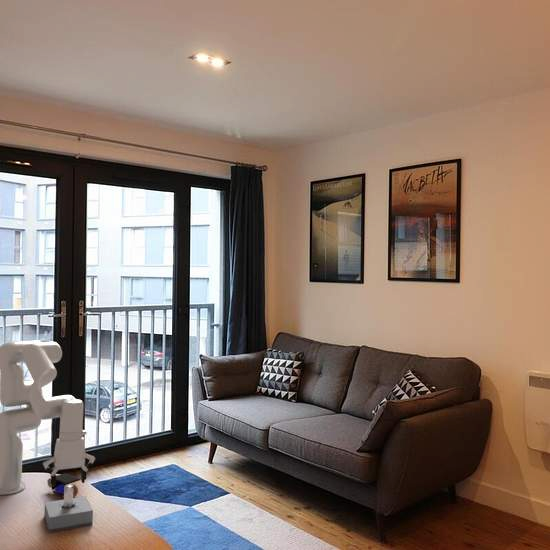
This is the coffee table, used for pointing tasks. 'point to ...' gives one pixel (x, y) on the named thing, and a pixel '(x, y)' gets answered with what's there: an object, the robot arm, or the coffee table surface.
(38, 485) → the coffee table surface
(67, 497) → the aluminium pin
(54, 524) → the bore block
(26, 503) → the coffee table surface
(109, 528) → the coffee table surface
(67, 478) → the figurine character
